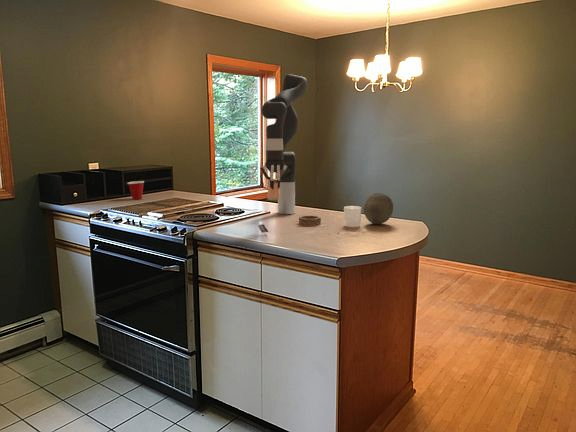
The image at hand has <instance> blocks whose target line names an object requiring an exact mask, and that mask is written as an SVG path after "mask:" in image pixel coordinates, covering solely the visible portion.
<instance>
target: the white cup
mask: <svg viewBox="0 0 576 432" xmlns="http://www.w3.org/2000/svg"><path fill="white" fill-rule="evenodd" d="M343 220H344V221H343V222H344V227H346V228H347V227H348V228H358V227H360V226H361V221H362V207H361V206H359V205H358V206H357V205H346V206H344V207H343Z"/></svg>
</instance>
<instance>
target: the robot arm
mask: <svg viewBox="0 0 576 432" xmlns="http://www.w3.org/2000/svg"><path fill="white" fill-rule="evenodd" d="M307 88H308V79H307V78H306V77H303V76H301V75H300V76H299V75H295V74H291V73H287V74H286V75H284V79H283V82H282V90H281V91H279V93H278V94H277V95H276V96H275V97H273V98H271V99H269V100H266V101H265V102H264V103H263V105H262V106H261V115H262V116H263V117H264V118H265V120H266V119H267V120H268V119H269V120H275V122H274V123H272V124H269V125H267V126H266V129H265V130H266V133H265V134H266V138H265V139H266V141H265V163H264V165H262V166H260V167H259V169H260V171H261V173H262V174H263V176H264V177H265V179H267V181H268V180H270V188H272V189H274V181H273V179H274V173H275V176H276V179H277V180H276V182H277V183H278V189H279V188H280V200H277V214H280V215H292V214H295V213H296V208H295V207H296V199H295V198H296V164H297V163H296V162H297V158H296V153H295V152H294V151H285V150H286V147H287V146H288V144H289V142H291V140H292V139H293V138H294V137H295V135H297V132H298V127H299V117H298V114H297V112H296V109H294V106H293V102H294V101H296V100H298V99H300V98H301V97H302V96H304V94H305V93H306V91H307ZM282 170H283V172H282V173H281V171H282ZM266 171H269V175H268V174H267V172H266Z"/></svg>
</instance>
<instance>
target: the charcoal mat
mask: <svg viewBox="0 0 576 432" xmlns="http://www.w3.org/2000/svg"><path fill="white" fill-rule="evenodd" d="M258 227H259V229H260V231H261V232H262V233H266V232H268V233H269V230H268V229H267V228H266V225H265V224H258Z"/></svg>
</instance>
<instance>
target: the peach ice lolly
mask: <svg viewBox="0 0 576 432" xmlns="http://www.w3.org/2000/svg"><path fill="white" fill-rule="evenodd" d="M276 180H277V178H273V181H274V189H272V188H270V180H268V179H267V200H269V201H278V200H280V188H279V189H278V183H277V182H276Z"/></svg>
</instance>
